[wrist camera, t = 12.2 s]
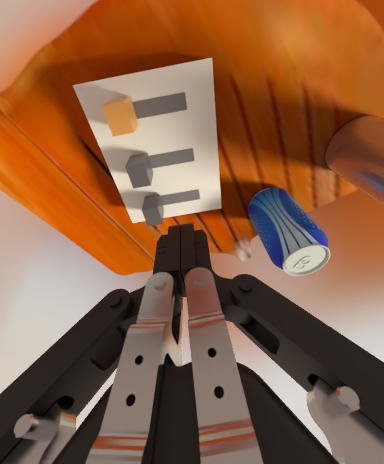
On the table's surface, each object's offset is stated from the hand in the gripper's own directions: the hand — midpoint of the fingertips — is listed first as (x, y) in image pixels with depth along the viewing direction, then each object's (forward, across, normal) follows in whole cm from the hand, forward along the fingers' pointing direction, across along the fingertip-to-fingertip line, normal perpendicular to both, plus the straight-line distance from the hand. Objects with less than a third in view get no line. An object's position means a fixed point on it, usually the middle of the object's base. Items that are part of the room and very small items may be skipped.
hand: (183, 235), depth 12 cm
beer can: (+25, -15, +15) cm, 33 cm away
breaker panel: (+24, +3, +1) cm, 24 cm away
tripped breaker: (+19, +6, -5) cm, 20 cm away
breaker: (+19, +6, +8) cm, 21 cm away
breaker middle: (+19, +6, +2) cm, 20 cm away
